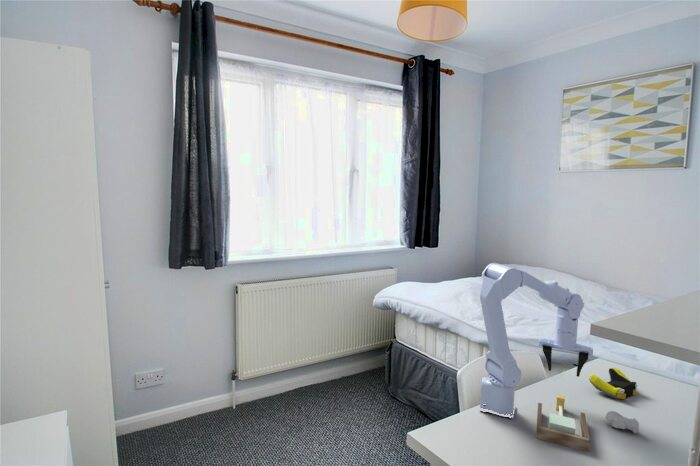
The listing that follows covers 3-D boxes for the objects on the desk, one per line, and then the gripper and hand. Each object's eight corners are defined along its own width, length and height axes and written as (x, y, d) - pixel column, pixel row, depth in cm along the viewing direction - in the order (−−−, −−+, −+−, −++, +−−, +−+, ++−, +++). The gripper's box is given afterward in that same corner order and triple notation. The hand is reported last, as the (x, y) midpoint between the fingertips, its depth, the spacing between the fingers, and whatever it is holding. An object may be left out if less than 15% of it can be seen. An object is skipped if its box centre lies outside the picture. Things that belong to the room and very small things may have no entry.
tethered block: (548, 436, 106) (549, 422, 106) (548, 405, 122) (549, 392, 121) (574, 443, 103) (575, 428, 103) (571, 410, 119) (572, 397, 119)
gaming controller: (585, 389, 132) (617, 404, 123) (586, 374, 131) (618, 387, 122) (611, 380, 139) (643, 393, 130) (612, 365, 138) (644, 377, 129)
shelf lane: (536, 438, 105) (536, 427, 105) (537, 412, 118) (538, 402, 117) (588, 451, 100) (589, 440, 100) (584, 423, 112) (585, 413, 112)
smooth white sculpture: (602, 427, 113) (611, 417, 115) (633, 442, 106) (643, 431, 108) (600, 414, 112) (610, 404, 114) (632, 428, 105) (641, 418, 107)
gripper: (593, 330, 121) (590, 372, 123) (541, 322, 129) (539, 362, 130) (594, 337, 115) (591, 382, 117) (539, 328, 123) (537, 370, 124)
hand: (563, 372), depth 123 cm, fingers open, 7 cm apart
